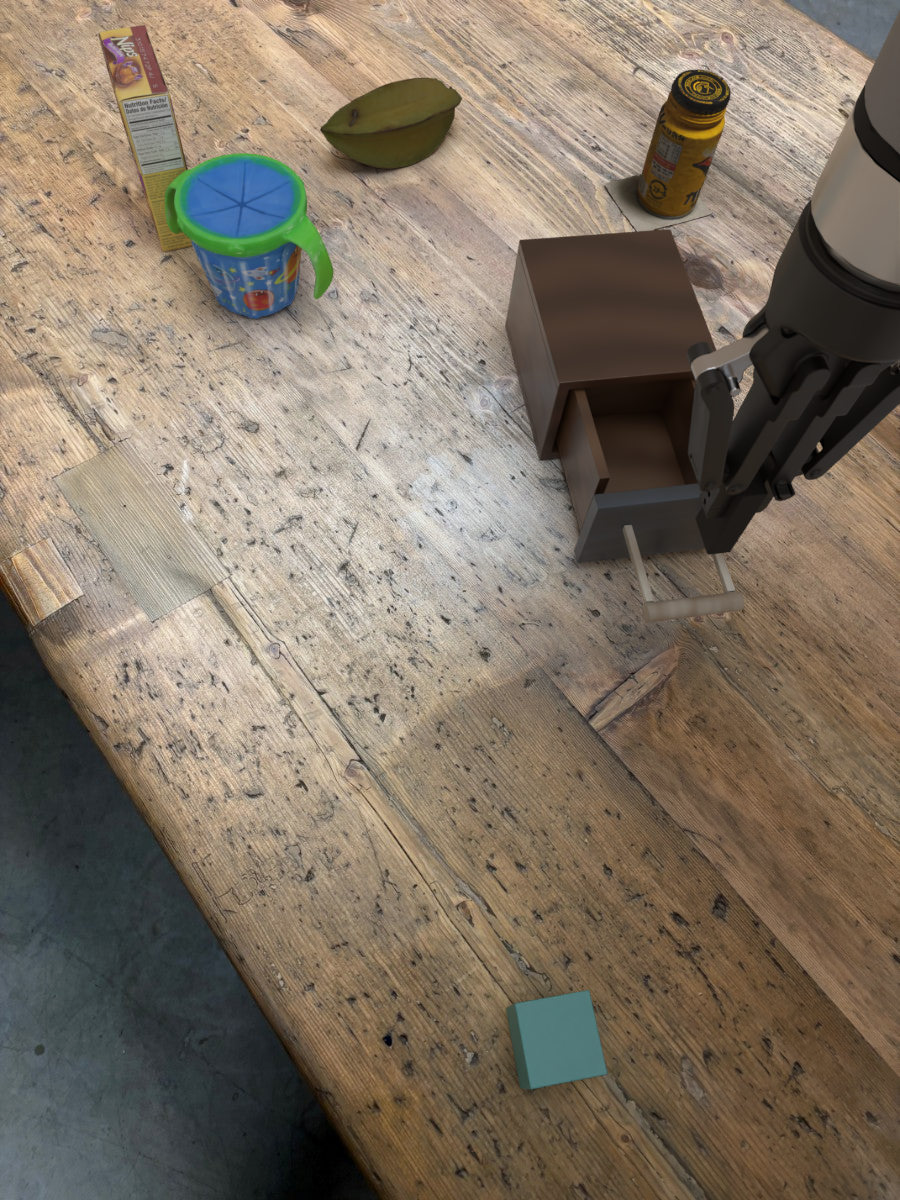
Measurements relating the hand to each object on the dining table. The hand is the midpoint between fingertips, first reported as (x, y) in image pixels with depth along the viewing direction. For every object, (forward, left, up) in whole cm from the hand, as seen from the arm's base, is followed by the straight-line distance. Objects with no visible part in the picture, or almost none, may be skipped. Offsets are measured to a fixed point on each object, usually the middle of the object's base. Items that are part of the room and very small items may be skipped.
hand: (712, 535), depth 59 cm
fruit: (+56, +12, -14) cm, 58 cm away
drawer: (+9, -1, -13) cm, 15 cm away
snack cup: (+37, +27, -14) cm, 48 cm away
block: (-27, +14, -14) cm, 33 cm away
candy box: (+48, +34, -14) cm, 60 cm away
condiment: (+45, -13, -14) cm, 49 cm away
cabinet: (+24, -1, -14) cm, 27 cm away
